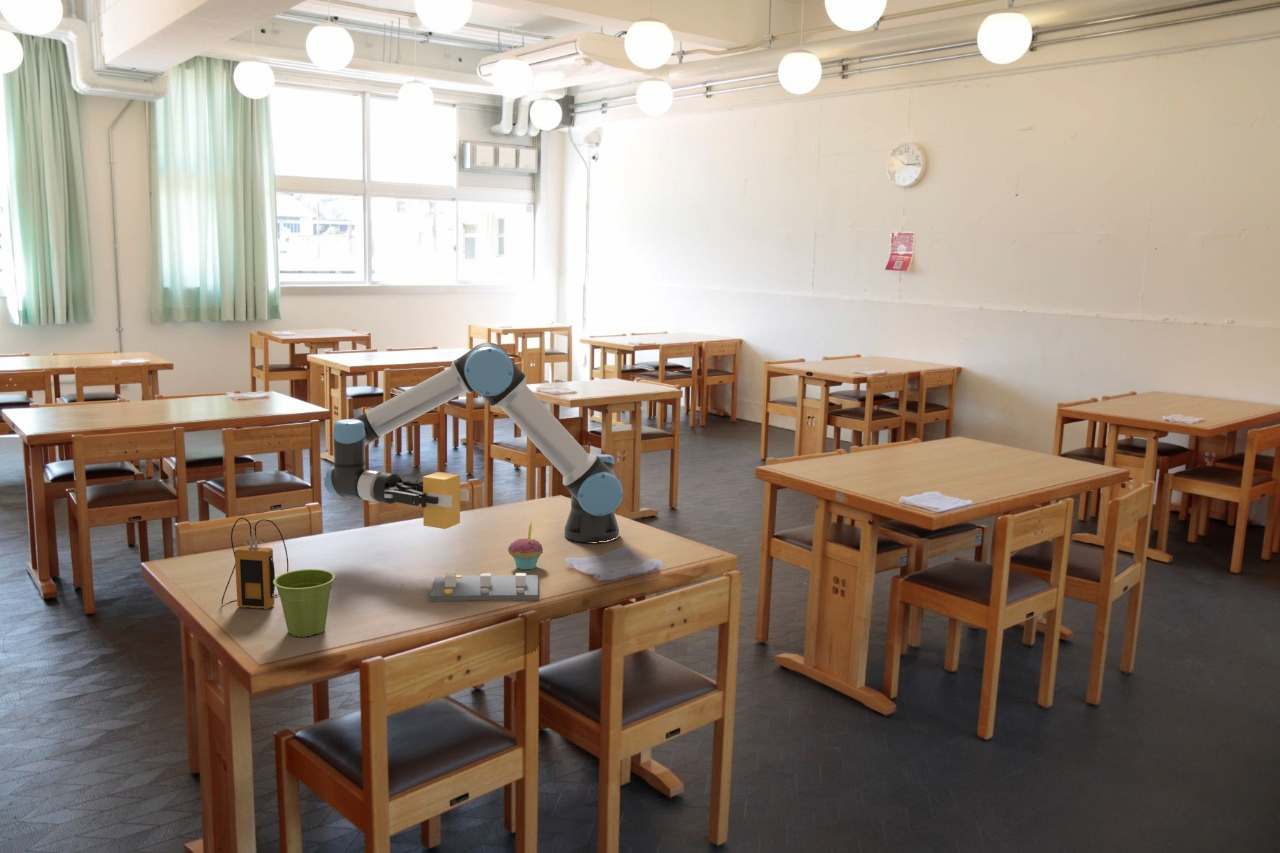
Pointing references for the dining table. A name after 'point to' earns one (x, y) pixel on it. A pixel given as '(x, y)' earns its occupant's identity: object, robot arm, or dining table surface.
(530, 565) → the cupcake
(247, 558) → the multimeter
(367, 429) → the robot arm
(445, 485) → the cap
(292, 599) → the plant pot
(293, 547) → the dining table surface
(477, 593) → the board
